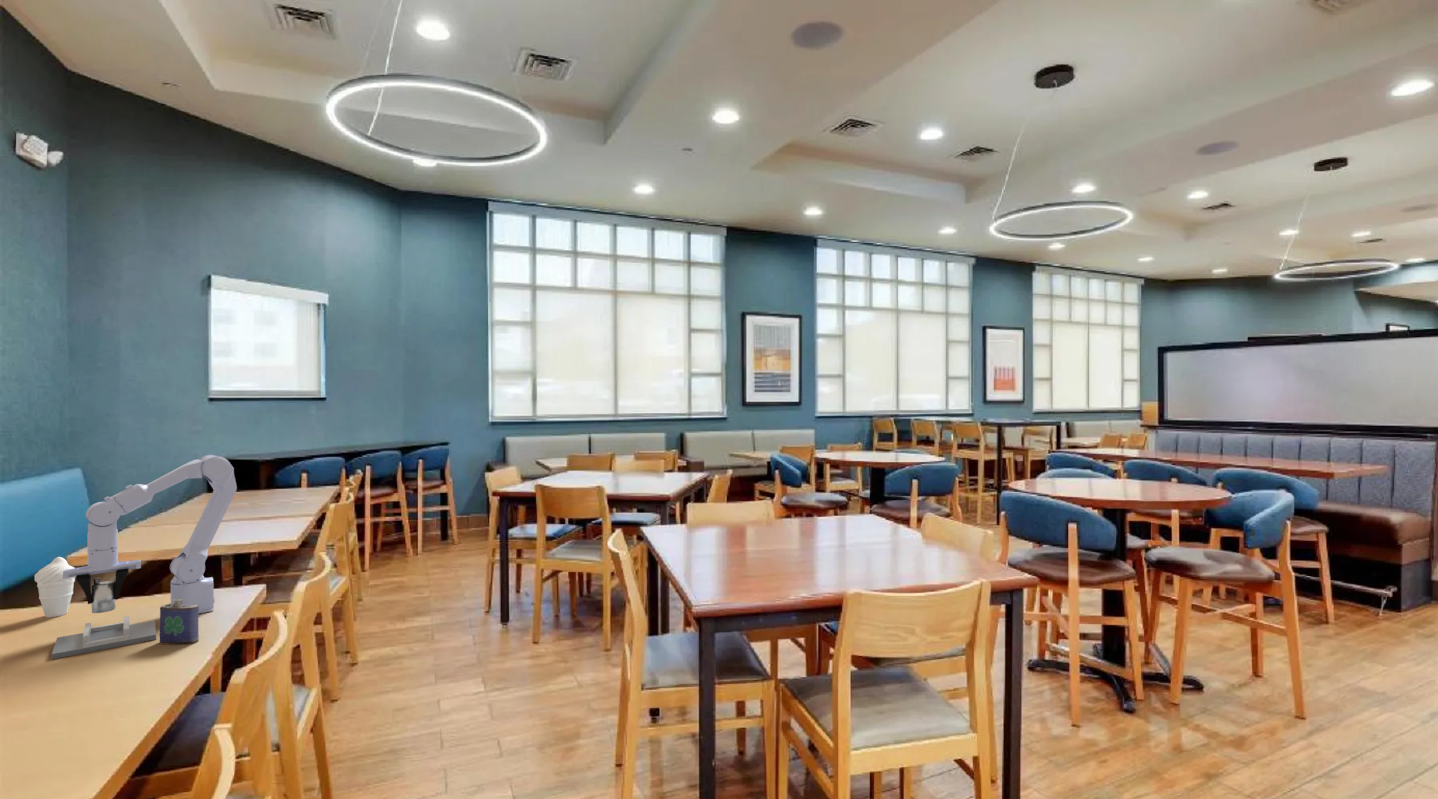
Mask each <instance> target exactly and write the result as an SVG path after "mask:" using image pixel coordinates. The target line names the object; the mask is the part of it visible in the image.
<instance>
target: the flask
mask: <svg viewBox="0 0 1438 799" xmlns="http://www.w3.org/2000/svg"><path fill="white" fill-rule="evenodd" d="M183 600H184V599H182V598H181V599H176V600H173V601H174V602H176V603H171V602H170V603H167V604H164V605H161V606H160V607H159V613H160V614H159V644H160V643H161V644H160V645H188V644H189V645H190V644H197V642H199V641H200V639H199V638H200V634H199V613H198V611H199V606H198V605H182V603H183V602H182V601H183Z"/></svg>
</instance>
